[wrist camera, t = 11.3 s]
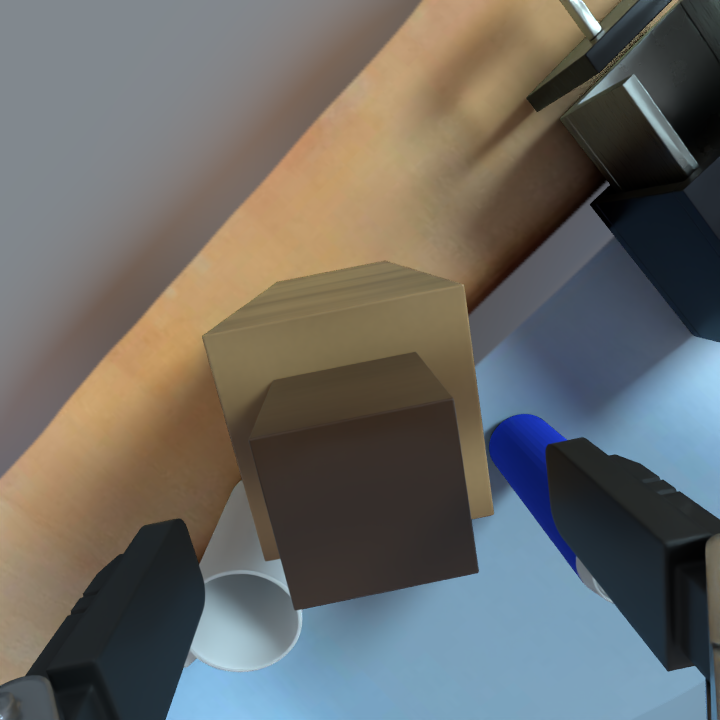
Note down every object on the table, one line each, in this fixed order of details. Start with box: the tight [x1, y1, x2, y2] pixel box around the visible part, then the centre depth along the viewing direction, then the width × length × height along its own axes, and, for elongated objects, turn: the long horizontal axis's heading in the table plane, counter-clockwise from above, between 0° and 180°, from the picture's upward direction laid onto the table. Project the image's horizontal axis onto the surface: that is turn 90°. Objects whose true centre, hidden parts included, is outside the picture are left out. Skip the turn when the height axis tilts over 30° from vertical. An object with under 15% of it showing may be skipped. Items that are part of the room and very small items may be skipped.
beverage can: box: [489, 414, 614, 604], centre depth 30 cm, size 5×5×15 cm
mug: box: [184, 480, 303, 672], centre depth 32 cm, size 10×7×12 cm, turn 133°
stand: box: [202, 261, 494, 561], centre depth 25 cm, size 8×8×20 cm
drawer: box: [526, 0, 720, 193], centre depth 27 cm, size 17×11×7 cm, turn 44°
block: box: [248, 352, 479, 611], centre depth 13 cm, size 4×4×4 cm
